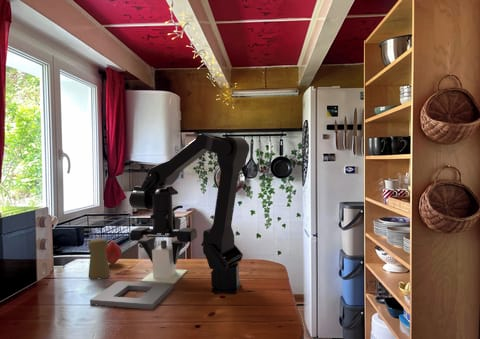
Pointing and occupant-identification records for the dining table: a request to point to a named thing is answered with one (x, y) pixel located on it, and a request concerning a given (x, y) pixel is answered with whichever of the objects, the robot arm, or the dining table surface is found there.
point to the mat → (164, 280)
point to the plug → (163, 261)
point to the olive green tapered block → (98, 259)
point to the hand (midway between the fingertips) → (164, 263)
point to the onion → (113, 252)
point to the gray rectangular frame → (145, 302)
